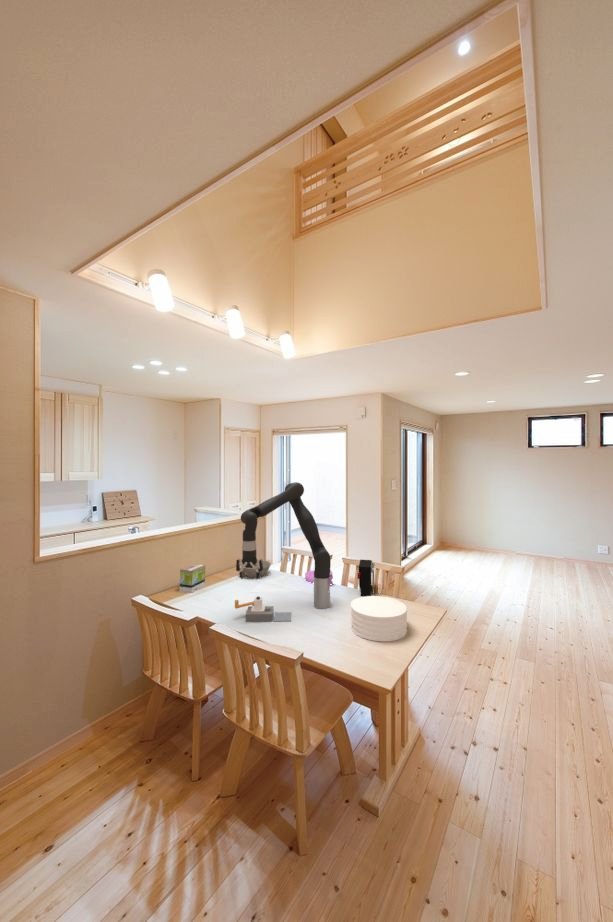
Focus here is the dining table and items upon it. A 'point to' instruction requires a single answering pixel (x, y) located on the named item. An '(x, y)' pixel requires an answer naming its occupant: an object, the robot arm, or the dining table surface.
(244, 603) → the clip
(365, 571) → the electrical component
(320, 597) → the robot arm
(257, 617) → the grey rectangular tray
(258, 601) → the plug
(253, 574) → the ceramic bowl
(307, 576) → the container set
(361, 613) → the plate stack
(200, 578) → the tea box
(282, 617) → the mat
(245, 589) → the dining table surface
